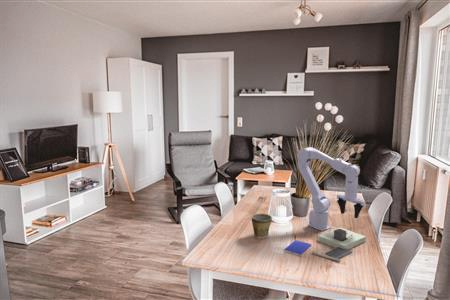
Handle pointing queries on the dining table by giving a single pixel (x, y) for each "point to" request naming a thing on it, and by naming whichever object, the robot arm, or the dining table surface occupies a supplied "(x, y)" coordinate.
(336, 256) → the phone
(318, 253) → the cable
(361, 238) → the outlet plate
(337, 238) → the grey rectangular block
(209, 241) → the dining table surface
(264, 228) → the ceramic cup
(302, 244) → the hard drive
